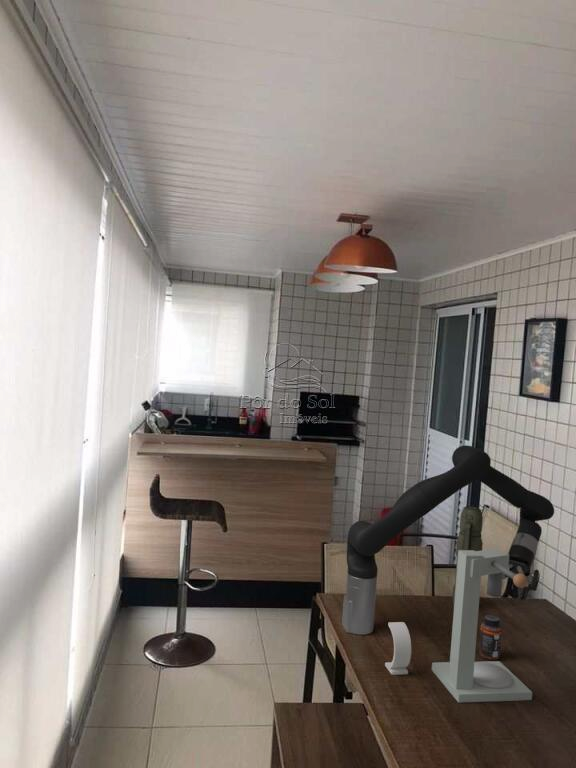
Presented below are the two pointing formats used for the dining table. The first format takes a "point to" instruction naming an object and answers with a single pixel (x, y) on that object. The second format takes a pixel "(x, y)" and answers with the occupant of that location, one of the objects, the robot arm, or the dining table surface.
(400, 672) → the headphone stand
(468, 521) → the thermos
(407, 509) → the robot arm
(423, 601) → the dining table surface
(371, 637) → the dining table surface
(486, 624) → the supplement bottle
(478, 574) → the press
